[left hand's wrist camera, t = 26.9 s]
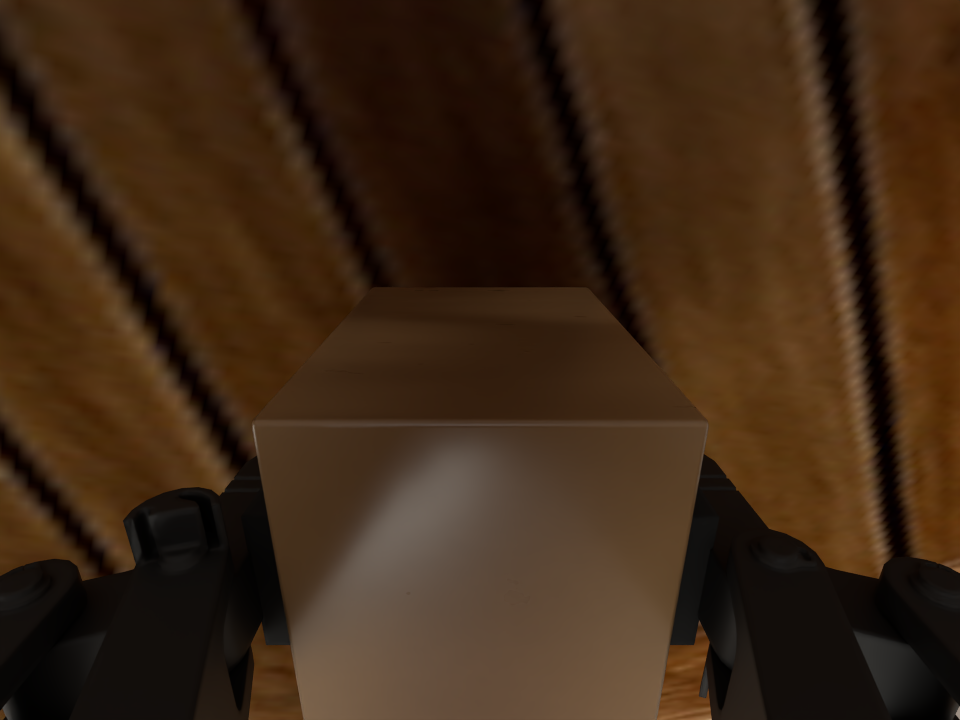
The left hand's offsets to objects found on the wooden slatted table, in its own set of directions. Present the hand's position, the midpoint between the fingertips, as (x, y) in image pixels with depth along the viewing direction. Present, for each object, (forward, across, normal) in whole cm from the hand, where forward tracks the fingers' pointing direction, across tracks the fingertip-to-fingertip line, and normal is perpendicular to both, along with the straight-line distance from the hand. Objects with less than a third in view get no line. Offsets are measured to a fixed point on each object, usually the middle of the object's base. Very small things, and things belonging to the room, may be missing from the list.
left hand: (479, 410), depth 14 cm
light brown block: (+1, 0, 0) cm, 1 cm away
